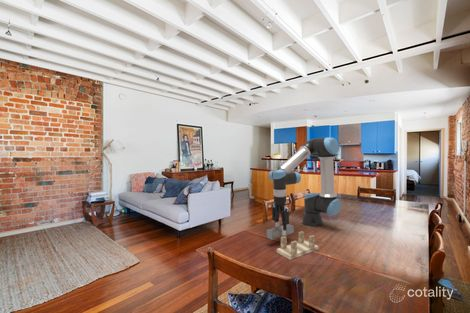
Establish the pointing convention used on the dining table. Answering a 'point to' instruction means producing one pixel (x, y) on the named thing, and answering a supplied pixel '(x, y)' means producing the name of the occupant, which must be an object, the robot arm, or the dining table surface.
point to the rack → (297, 246)
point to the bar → (279, 231)
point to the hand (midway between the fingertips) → (280, 233)
